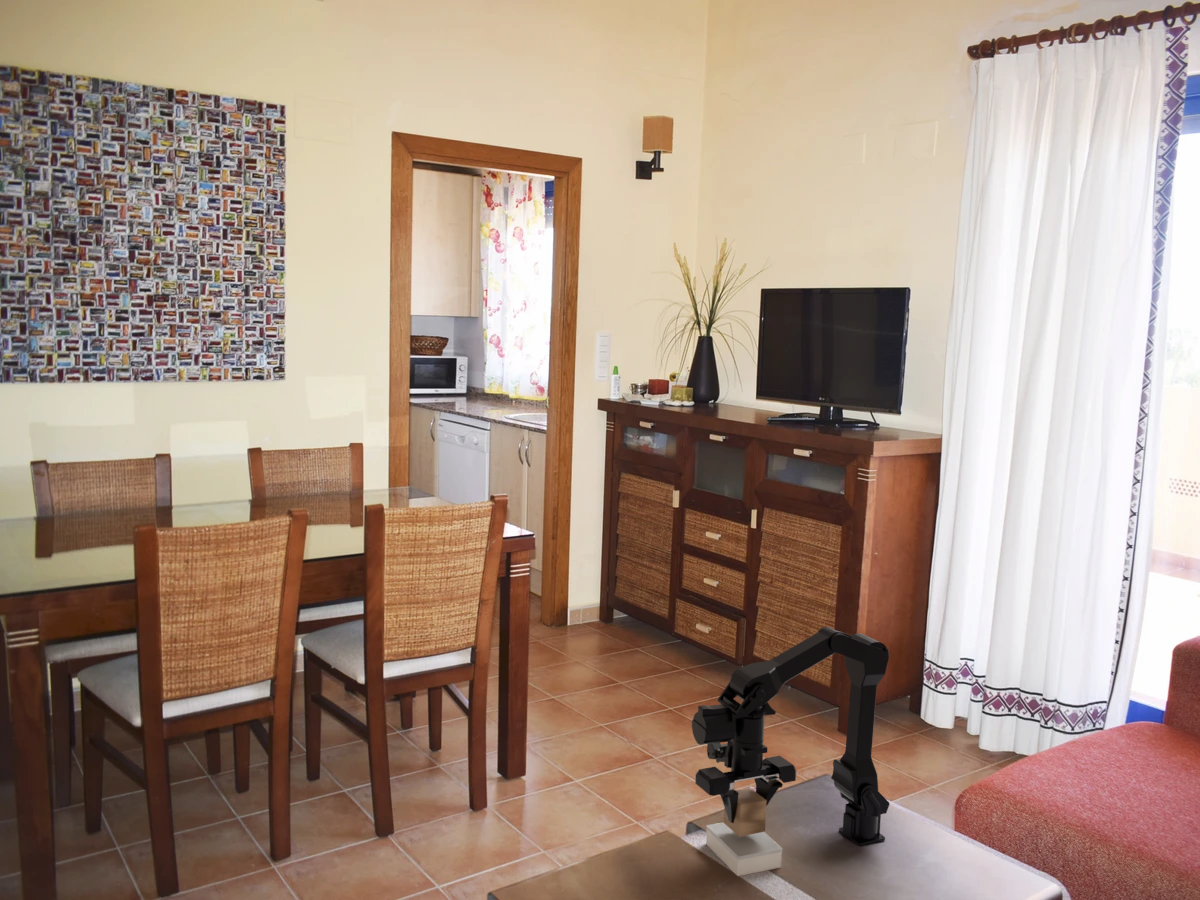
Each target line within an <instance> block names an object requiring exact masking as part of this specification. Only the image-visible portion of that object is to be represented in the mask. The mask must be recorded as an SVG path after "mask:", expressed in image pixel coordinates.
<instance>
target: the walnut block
mask: <svg viewBox="0 0 1200 900" xmlns="http://www.w3.org/2000/svg"><path fill="white" fill-rule="evenodd" d="M745 788H746V787H745ZM745 788H741V789H734V790H735V791H737V792H738V793H739V795H738V801H737V808H736V815H735V819H734V822H733V823H731V822H730V821H729V820H728V817H727V813H726V810H725V807H724V806H723V808H724V809H723V811H724V812H723V822H724V824H725V825H727V826H728V827H729V828H730V829H731V830H732V831H734V832H735V833H736V834H737V835H738V836H739V837H741V836H746V835H750V834H755V833H760V832H765V833H766V822H767V821H766V818H767V817H766V815H767V807H766V799H764V798H763V797H762V796H760V795H759V794H758V793H756V792H755V791H754V790H752V789H751V788H746V789H745Z"/></svg>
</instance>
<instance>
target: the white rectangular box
mask: <svg viewBox="0 0 1200 900" xmlns="http://www.w3.org/2000/svg"><path fill="white" fill-rule="evenodd" d="M705 829H706V837H705V839H706V840H705V841H706V842H705V844H706V845H707V846H708V848H709V849H710V850H711V851H712V852H713V853H714V854H715V855H716V856H717V857H718V858H719V859H720V860H721V861H722V862H723V863H724V864H725V865H726V866H727V867H728V868H729V869H730V870H731V871H732V872H733V874H735V875H736V876H737V877H739V876H744V875H749V874H755V873H760V872H764V871H770V870H775V869H780V868H782V856H783V855H782V853H783V850H784V849H783V847H781V845H780V844H778V843H777V842H776V841H775V840H774V839H772V838H771V837H770V836H769V835H768V834H767V833H766V831H765V832H760V833H755V834H750V835H746V836H741V837H739V836H738V835H737V834H736V833H735V832H734V831H732V830H731V829H730V828H729V827H728V826H727V825H725V824H724V821H723V822H718V823H712V824H707V825H705Z"/></svg>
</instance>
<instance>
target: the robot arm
mask: <svg viewBox="0 0 1200 900" xmlns="http://www.w3.org/2000/svg"><path fill="white" fill-rule="evenodd" d="M835 654H840V655H843V656H844V665H845V668H846V671H847V674H848V676H849V679H850V686H849V687H850V689H849V698H848V699H849V702H848V711H847V716H848V717H847V727H846V740H845V741H846V742H845V751H844V753H843V755H842V756H841V757H840V759H833V762H832V767H833V768H832V770H833V771H832V775H831V777H830V778H831V780H832V781H833V785H834V787H835V788H836V789H837V791H838V792H839V793H840V798H842V799H844V800H845V801H847V802H848V803H845V806H844V808H845V809H844V812H843V815H842V816H843V819H842V820H843V821H842V827H839V828H838V832H840V833H841V834H843V836H845V837H847V838H848V839H849V840H851V841H852V842H853V843H854V844H856V845H857V846H865V845H868V844H874V843H878V842H883V841H885V840H886V836H884V835H883V834H882V833H881V819H882V817H881V816H882V815H884V814H887V812H888V809H889V807H890V802H889V801H888V800H887V799H886V798H885V797H884V795H883V794H881V793H880V791H879V779H878V773H877V769H876V767H875V764H874V761H873V757H872V755H873V753H872V752H873V744H874V743H873V740H874V728H875V715H876V703H877V691H878V690H877V689H878V685H879V683H880V682H881V680H882V679H883V678H884V676H885V675H886V672H887V669H888V664H889V660H890V651H889V648H887V646H886V645H885V644H884V643H882V642H881V641H878V640H876V639H875V638H872V637H870V636H868V635H866V634H865V633H864V634H863V633H859V632H858V633H854V634H848V633H845V632H842V631H840V630H839V631H838V630H837V629H834V628H832V627H830V626H824V627H822V628H820V629H819V630H818V631H817V633H814V634H813V635H811V636H809V637H808V638H806V639H803V640H802V641H800V642H799V643H797V644H795V645H794V646H792V647H790V648H789V649H786V650H785V651H782V653H780V654H778V655H776V656H774V657H773V658H771V659H769V660H765V661H759V662H757V661H756V662H752V663H749V664H746V665H744V666H742V667H739V668H737V669H736V670H734V671H733V673H731V678H730V680H729V682H728V683H727V685H726V686H725V688H724V690H722V692H721V694H720V695H719V697H718V698H717V700H716V701H717V702H718V704H712V705H708V704H707V705H704V704H703V705H698V706H697V707H698V708H697V712H695V713H694V715H693V719H691V730H692V735H693V738H694V740H695V742H696V743H697V744H698V746H699V745H700V746H701V745H702V746H703V745H707V746H706V753H707V754H706V755H707V758H708V759H709V760H715V762H716V763H724V764H723V765H724V767H726V769H728V768H729V769H730V771H727V772H726V771H725V772H723V771H721V769H719V768H718V767H717V766H711V767H710V766H709V767H706V768H700V769H698V770H697V771H696V773H695V785H696V786H698V787H699V788H700V789H701V790H703V791H704V792H706V794H707V795H709V796H712V797H714V796H720V798H721V801H722V803H723V808H724V807H725V810H726V813H727V817H728V820H729V821H730V822H731V823H733V822H734V819H735V815H736V808H737V801H738V795H739V793H738V792H737V791H735V790H736V789H735V784H736V783H737V782H744V781H748V780H754V783H755V788H756V793H758V794H759V795H760V796H762V797H763V798H764V799H766V808H767V806H768V805H769V803H770V801H771V800H772V799H773V798H774V796H775V794H776V793H777V791H778V790H779V789H780V788H783V783H784V784H786V783H792V782H796V780H797V772H798V771H797V769H796V766H795V765H794V764H793V763H791V762H790V761H789V760H787V759H785V758H784V757H783V756H781V755H777V756H776V755H775V756H771V757H765V758H764V754H767V753H768V746H766V745H765V744H764V739H765V738H764V737H765V720H766V719H765V717H766V716H774V715H776V713H777V712H776V710H775V709H774V708H772V706H771V705H770V704H769V702H770V701H771V700H772V699H773V698H775V697H776V696H777V695H778V694H779V691H780V690H781V688H782V686H784V685H785V684H786V683H787V682H788V681H790V680H792V679H794V678H795V677H797V676H799V675H800V674H802V673H804V672H805V671H807V670H809V669H811V668H812V667H814V666H815V665H817V664H819V663H821V662H822V661H824V660H826V659H827V658H829V657H832V656H833V655H835ZM736 697H737V698H738V699H740V700H741V701H742V703H739V702H738V701H737V700H736V699H735V698H736ZM726 742H727V743H726Z"/></svg>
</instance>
